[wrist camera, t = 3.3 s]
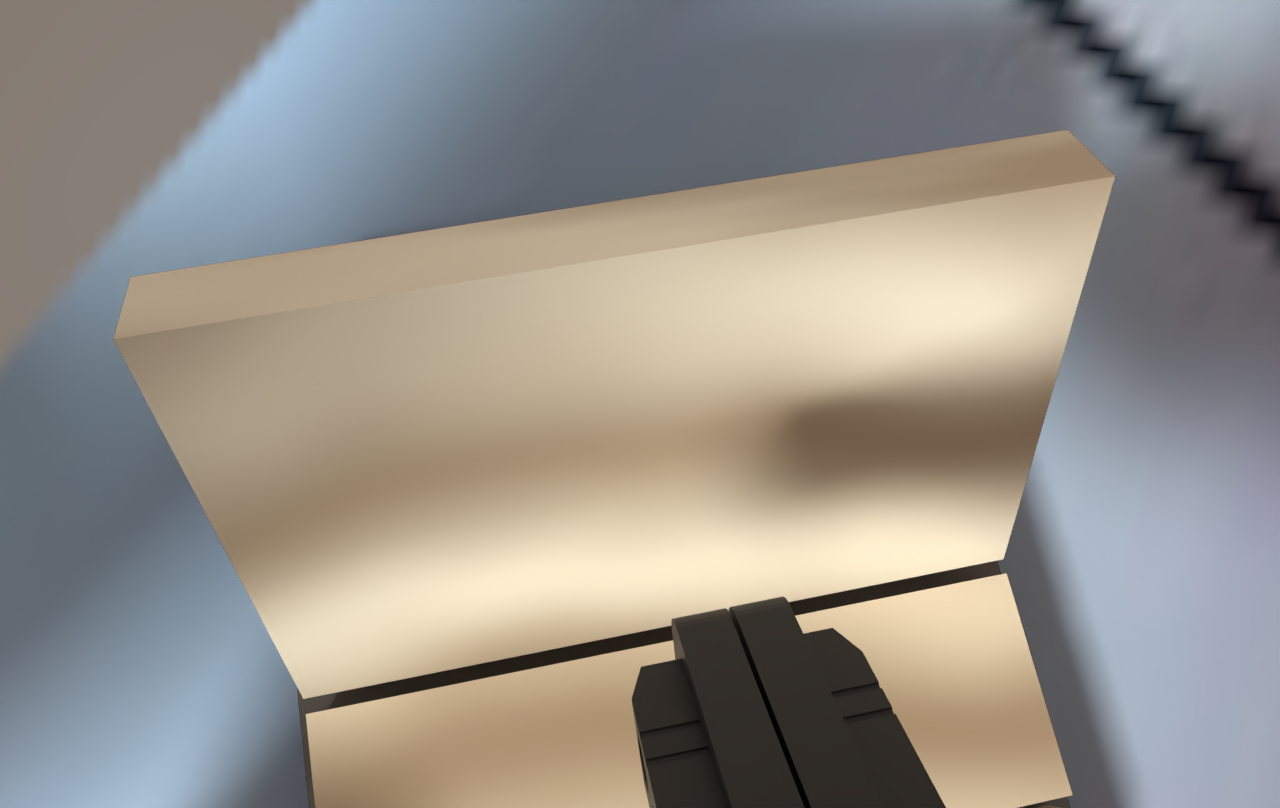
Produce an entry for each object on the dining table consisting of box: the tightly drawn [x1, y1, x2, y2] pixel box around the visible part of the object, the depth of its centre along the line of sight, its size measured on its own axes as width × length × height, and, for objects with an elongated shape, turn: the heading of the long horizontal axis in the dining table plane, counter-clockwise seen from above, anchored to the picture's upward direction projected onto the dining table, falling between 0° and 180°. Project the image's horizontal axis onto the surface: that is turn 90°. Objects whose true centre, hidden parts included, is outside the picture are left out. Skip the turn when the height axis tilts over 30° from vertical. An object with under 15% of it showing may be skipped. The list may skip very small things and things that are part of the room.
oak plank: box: [114, 130, 1115, 699], centre depth 19 cm, size 10×15×2 cm
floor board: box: [297, 561, 1073, 808], centre depth 24 cm, size 20×16×4 cm
